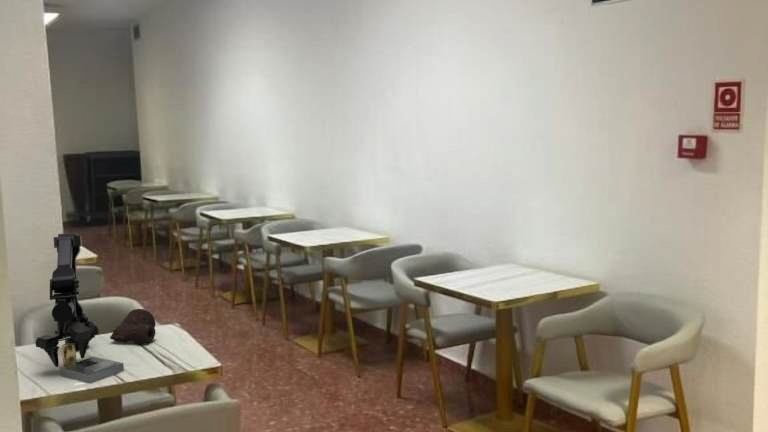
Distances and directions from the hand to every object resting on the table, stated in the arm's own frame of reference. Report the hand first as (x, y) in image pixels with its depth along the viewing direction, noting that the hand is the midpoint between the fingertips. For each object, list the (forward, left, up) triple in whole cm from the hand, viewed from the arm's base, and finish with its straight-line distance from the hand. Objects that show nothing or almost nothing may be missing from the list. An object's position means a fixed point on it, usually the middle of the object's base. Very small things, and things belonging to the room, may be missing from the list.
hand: (69, 362), depth 231 cm
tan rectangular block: (0, 0, -1) cm, 1 cm away
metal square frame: (+12, -1, -1) cm, 12 cm away
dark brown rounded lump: (-5, +31, -2) cm, 31 cm away
